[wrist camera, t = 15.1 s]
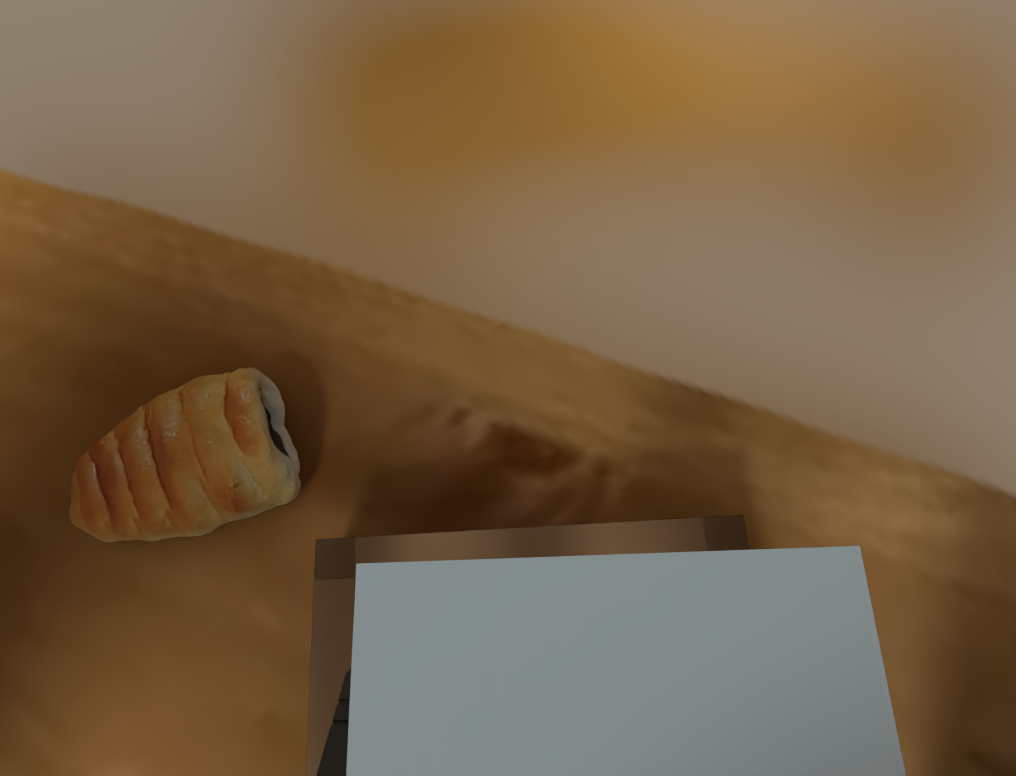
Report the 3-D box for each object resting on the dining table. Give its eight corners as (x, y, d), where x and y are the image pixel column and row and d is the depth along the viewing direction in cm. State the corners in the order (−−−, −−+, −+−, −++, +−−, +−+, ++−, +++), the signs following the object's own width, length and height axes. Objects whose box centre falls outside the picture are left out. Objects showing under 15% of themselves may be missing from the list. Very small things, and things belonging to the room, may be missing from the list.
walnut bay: (324, 892, 27) (299, 916, 24) (336, 552, 32) (315, 539, 29) (777, 872, 27) (804, 893, 24) (725, 530, 31) (742, 515, 28)
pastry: (105, 587, 32) (49, 573, 28) (76, 445, 34) (21, 416, 31) (319, 499, 33) (290, 475, 29) (275, 366, 35) (244, 330, 32)
